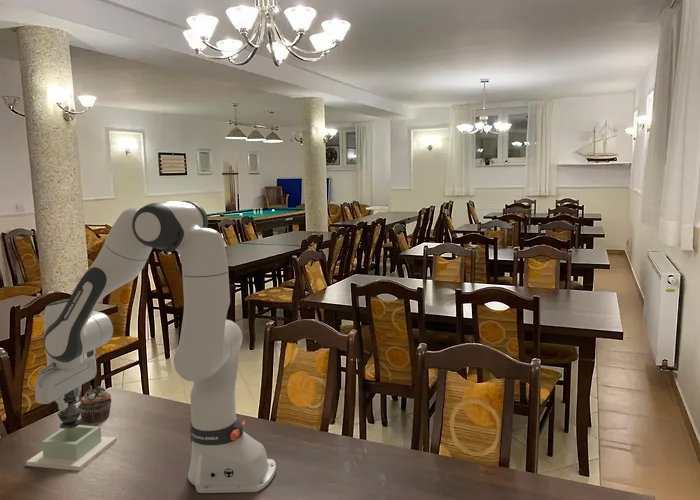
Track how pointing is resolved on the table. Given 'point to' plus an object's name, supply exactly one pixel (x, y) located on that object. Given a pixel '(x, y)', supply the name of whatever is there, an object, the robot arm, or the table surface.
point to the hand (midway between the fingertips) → (69, 405)
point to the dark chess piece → (70, 412)
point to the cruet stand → (72, 448)
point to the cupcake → (95, 405)
